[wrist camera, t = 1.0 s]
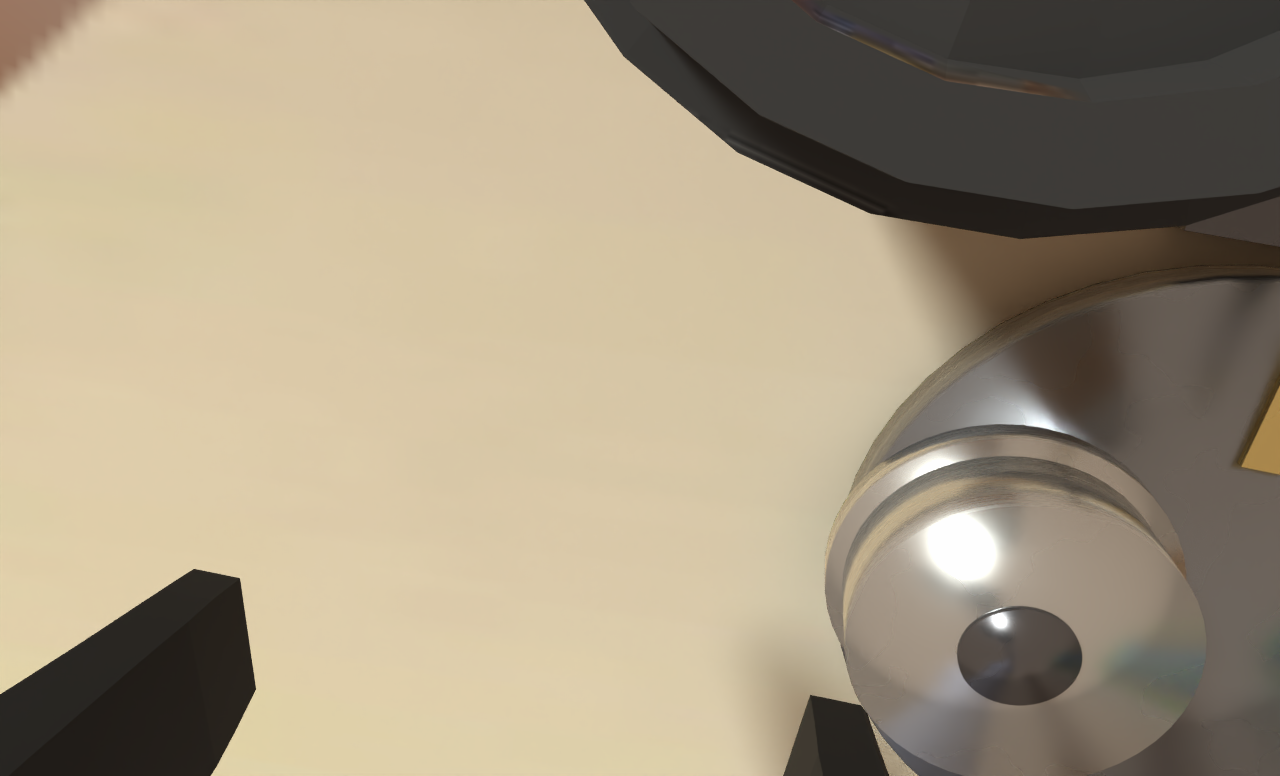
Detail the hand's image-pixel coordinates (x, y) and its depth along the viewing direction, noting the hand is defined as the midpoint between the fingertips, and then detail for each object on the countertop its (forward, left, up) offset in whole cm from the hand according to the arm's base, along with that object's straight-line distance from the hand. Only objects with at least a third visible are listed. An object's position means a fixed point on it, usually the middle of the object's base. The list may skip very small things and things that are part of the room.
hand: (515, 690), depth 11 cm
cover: (-3, -9, -11) cm, 14 cm away
